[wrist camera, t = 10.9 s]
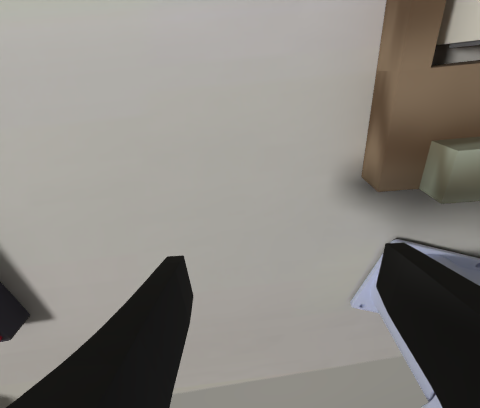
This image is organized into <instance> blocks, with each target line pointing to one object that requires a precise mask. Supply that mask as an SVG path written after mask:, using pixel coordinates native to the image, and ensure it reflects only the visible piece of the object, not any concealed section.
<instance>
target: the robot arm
mask: <svg viewBox="0 0 480 408" xmlns="http://www.w3.org/2000/svg"><path fill="white" fill-rule="evenodd" d="M192 302H193V292H192V288H191V284H190V280H189V276H188V272H187V268H186V263H185V259H184V256H170V257H167V258H166V259H165V260H164V261H163V262H162V263H161V264H160V265H159V266H158V268H157V269H156V270H155V271H154V272H153V273H152V274H151V275H150V277H149V278H148V279H147V280H146V281H145V282H144V283H143V285H142V286H141V287H140V288H139V289H138V290H137V291H136V292H135V293H134V294H133V296H132V297H131V298H130V299H129V300H128V301H127V302H126V303H125V304H124V305H123V306H122V307H121V308H120V309H119V310H118V311H117V312H116V313H115V314H114V315H113V316H112V317H111V318H110V319H109V320H108V321H107V323H106V324H105V325H104V326H103V327H102V328H101V329H99V330H98V331H97V332H96V333H95V334H94V335H93V336H92V337H91V338H90V339H89V340H88V341H87V342H86V343H84V344H83V345H82V346H81V347H80V348H79V349H78V350H77V351H75V352H74V353H73V354H72V355H71V356H70V357H69V358H67V359H66V360H65V361H64V362H63V363H62V364H60V365H59V366H58V367H57V368H56V369H54V370H53V371H52V372H51V373H49V374H48V375H47V376H46V377H44V378H43V379H42V380H41V381H39V382H38V383H37V384H36V385H34V386H33V387H32V388H31V389H29V390H28V391H27V392H26V393H24V394H23V395H22V396H21V397H19V398H18V399H17V400H16V401H14V402H13V403H12V404H10V405H9V406H8V407H6V408H169V407H170V402H171V397H172V393H173V388H174V385H175V381H176V377H177V373H178V369H179V365H180V361H181V357H182V353H183V349H184V345H185V340H186V336H187V332H188V328H189V324H190V317H191V310H192ZM350 303H351V305H352V307H353V308H357V309H362V310H367V311H372V312H377V313H379V314H380V316H381V317H382V319H383V321H384V323H385V325H386V326H387V328H388V330H389V332H390V333H391V335H392V337H393V339H394V341H395V342H396V344H397V346H398V348H399V350H400V351H401V353H402V355H403V357H404V358H405V360H406V362H407V364H408V366H409V368H410V369H411V371H412V373H413V375H414V377H415V378H416V380H417V382H418V384H419V385H420V387H421V389H422V391H423V393H424V394H425V396H426V398H427V399H428V403H427V404H425V405H423V406H422V407H421V408H480V258H476V257H472V256H468V255H464V254H459V253H455V252H451V251H447V250H442V249H438V248H434V247H430V246H425V245H421V244H417V243H413V242H408V241H404V240H400V239H395V240H393V241H391V243H386V244H385V249H384V253H383V254H382V256H381V257H380V259H379V260H378V262H377V263H376V265H375V266H374V268H373V269H372V271H371V272H370V274H369V275H368V277H367V278H366V279H365V281H364V282H363V284H362V285H361V287H360V288H359V290H358V291H357V293H356V294H355V296H354V297H353V299H352V300H351V302H350Z"/></svg>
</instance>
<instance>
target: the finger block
mask: <svg viewBox="0 0 480 408" xmlns="http://www.w3.org/2000/svg"><path fill="white" fill-rule="evenodd" d="M443 44H450V47H449V48H453V47H463V46H473V45H480V0H446V4H445V8H444V13H443V17H442V21H441V26H440V30H439V34H438V39H437V43H436V45H443Z"/></svg>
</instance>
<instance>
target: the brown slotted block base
mask: <svg viewBox="0 0 480 408" xmlns="http://www.w3.org/2000/svg"><path fill="white" fill-rule="evenodd" d="M445 4H446V0H387V2H386V9H385V16H384V23H383V30H382V37H381V44H380V51H379V58H378V65H377V72H376V79H375V86H374V93H373V100H372V107H371V114H370V121H369V128H368V135H367V142H366V149H365V156H364V163H363V170H362V178H363V179H364V180H365V181H367V182H368V183H369V184H370V185H371V186H372V187H373V188H374V189H375V190H376V191H377V192H383V191H396V190H409V189H420V190H422V191H423V192H425V193H426V194H428V195H429V196H430V197H432V198H433V199H435V200H436V201H438V202H439V203H441V204H445V203H459V202H472V201H480V60H477V61H467V62H458V63H448V64H438V65H432V60H433V56H434V52H435V47H436V43H437V39H438V34H439V30H440V26H441V21H442V17H443V13H444V8H445Z"/></svg>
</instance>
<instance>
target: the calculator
mask: <svg viewBox="0 0 480 408" xmlns="http://www.w3.org/2000/svg"><path fill="white" fill-rule="evenodd" d="M29 316H30V314H29V313H28V312H27V310H26V309H25V308H24V307H23V306H22V305H21V304H20V303H19V302H18V301H17V299H16V298H15V297H14V296H13V295H12V294H11V293H10V292H9V291H8V290H7V289H6V287H5V286H4V285H3V284H2V283H1V282H0V342H3V341H9V340H11V339H12V338H13V336H14V335H15V334H16V333H17V331H18V330H19V329H20V328H21V326H22V325H23V324H24V323H25V321H26V320H27V319H28V317H29Z"/></svg>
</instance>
